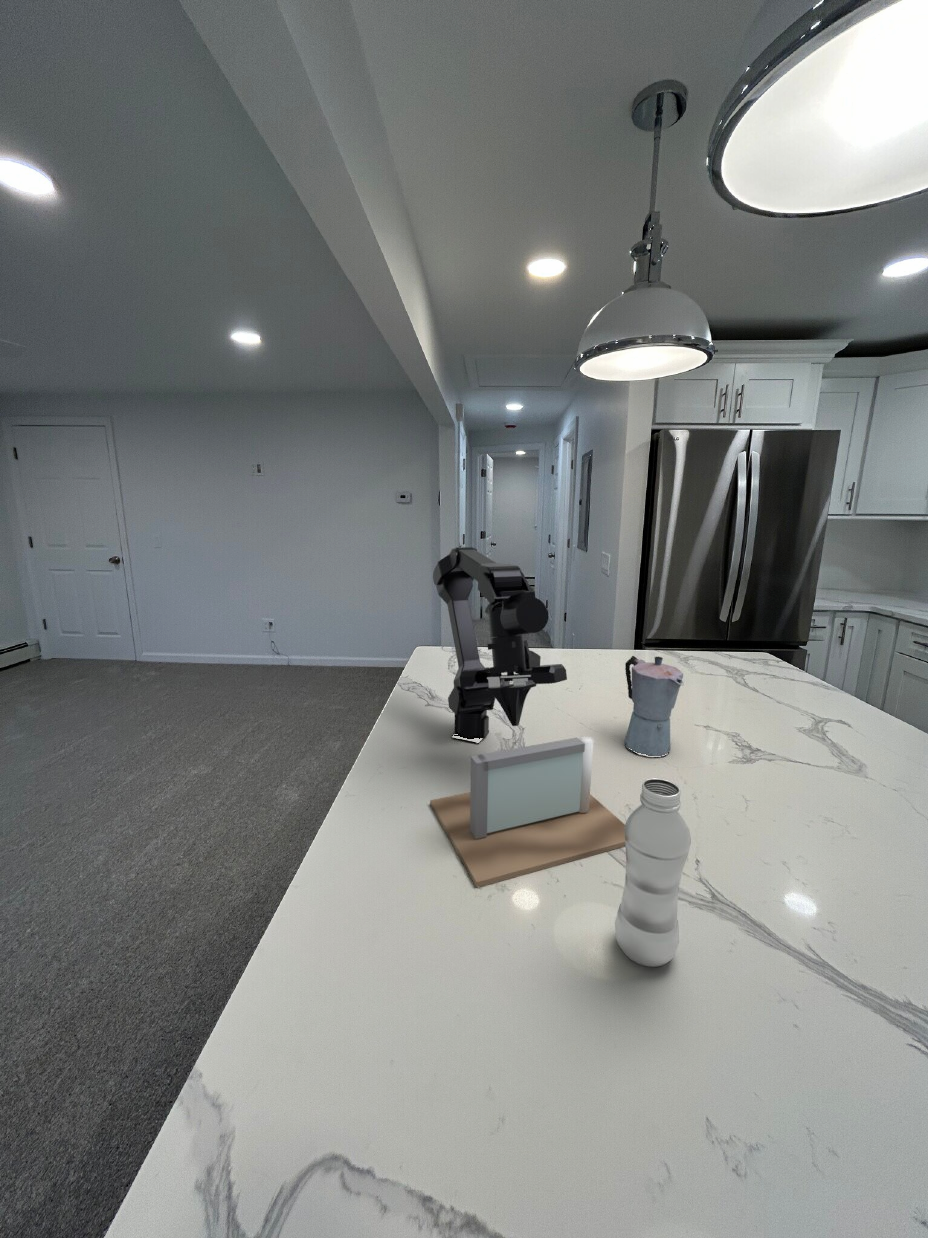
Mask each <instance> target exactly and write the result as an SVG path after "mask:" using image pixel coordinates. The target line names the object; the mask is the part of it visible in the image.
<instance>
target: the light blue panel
mask: <svg viewBox="0 0 928 1238" xmlns="http://www.w3.org/2000/svg"><path fill="white" fill-rule="evenodd" d="M594 742H595V741H594V738H593V737H590V736H585V735H584V736H583V735H582V736H580V737H579V738H578V737H573V738H572V737H571V738H567V739H561V740H555V741H551V742H545V743H540V744H539V743H537V744H534V745H527V746H526V745H525V746H522V747H516V748H510V749H504V750H500V751H499V750H498V751H494V752H493V751H492V752H486V753H482V754H478V755H476V754H475V755H472V756H471V755H470V783H469V784H470V786H469V787H470V790H469V792H470V831H471V833H472V834H473V836H474V838H475V839H479V838H483V837H487V833H490V832H494V831H499V830H503V829H507V828H511V827H515V826H519V825H524V824H528V823H532V822H536V821H540V820H545V819H549V818H553V817H557V816H561V815H565V814H570V813H574V812H580V813H586V812H588V811H589V800H590V794H591V785H592V768H593V755H594V754H593V753H594Z"/></svg>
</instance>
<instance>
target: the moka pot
mask: <svg viewBox="0 0 928 1238" xmlns="http://www.w3.org/2000/svg"><path fill="white" fill-rule="evenodd" d="M662 662H663V657H662V656H654V662H646V661H645V660H643V659H638V657H636V656H634V655H632V656H631V657H630V658H629V659H628V660H627V661H625V666H624V667H625V668H624V669H625V670H624V671H625V676H626V677H625V678H626V682H627V683H626V684H627V691H628V692H627V693H628V698H629V699H630V700H631V701H632V703H633V709H632V712H631V716H630V720H629V723H628V728H627V731H626V735H625V738H624V744H625V743H626V745H625V747H626V746H627V747H628V748H630V749H632V751H635V752H637V753H641V754H646V755H648V756H662V755H665V754H667V753H668V752H669V751H670V752H671V715H672V710H673V709H674V708H675V704H676V702H677V699H678V698H677V697H678V695H679V691H680V688H681V686H684V683H685V681H684V680H683V678H684V673H683V672H682V671H681V670H680V669H678V668H677V667H676V666H672V665H669V664H664V663H662ZM632 665H633V666H632ZM631 666H632V667H631ZM627 747H626V748H627ZM632 751H631V752H632Z"/></svg>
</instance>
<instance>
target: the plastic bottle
mask: <svg viewBox="0 0 928 1238" xmlns="http://www.w3.org/2000/svg"><path fill="white" fill-rule="evenodd" d="M681 793H682V792H681V788H680V786H678V785H677V784H676V783H674V782H673V781H670V780H667V779H663V778H658V777H655V778H654V777H653V778H648V779H645V780H643V782H642V785H641V793H640V798H639V800H640V805H639V806H637V807H636V808H635V809H634V810H633V811H631V813H630V814H629V815H628V817H627V820H626V821H625V823H624V824H625V877H624V878H625V879H624V880H625V881H624V886H623V887H624V888H623V890H622V891H623V892H622V896H621V901H620V903H619V905H618V909H617V912H616V916H615V920H614V931H615V939H616V941H617V945H618V946H619V948H620V949H621V950H622V952H623V953H624V954H625V955H626V956H627V957H628V958H629V959H630V960H631V961H633V962H635V963H637V964H639V965H642V966H644V967H650V968H653V967H654V968H656V967H661V966H664V965H665V964H667V963H668V962H670V961H672V959H673V958H674V957H675V955H676V952H677V949H678V946H679V943H680V927H679V926H680V925H679V920H678V903H679V902H678V900H679V899H678V898H679V893H680V885H681V881H682V875H683V871H684V868H685V865H686V862H687V859H688V856H689V852H690V849H691V844H692V836H691V832H690V828H689V826H688V824H687V823H686V821H685V819H684V818H683V816H682V815H681V814H680V812H679V811H680V809H681Z"/></svg>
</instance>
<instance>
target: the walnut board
mask: <svg viewBox="0 0 928 1238" xmlns="http://www.w3.org/2000/svg"><path fill="white" fill-rule="evenodd" d="M429 803H430V804H429V805H430V807H431V809H432V810H433V812H434V814H435V816H436V818H437V820H438V821H439V823H440V825H441V827H442V828H443V830H444V832H445V834H446V835H447V837H448V839H449V841H450V843H451V844H452V846H453V848H454V851H455V852H456V853H457V855H458V857H459V859H460V861H461V862H462V864H463V866H464V868H465V869H466V872H467V873H468V875H469V877H470V878H471V880H472V882H473V884H474V886H475V887H476V888H480V887H483V886H485V887H486V886H488V885H492V884H495V883H499V882H503V881H506V880H510V879H513V878H516V877H520V876H523V875H526V874H531V873H535V872H539V871H542V870H545V869H549V868H553V867H556V866H560V865H563V864H566V863H570V862H574V861H577V860H582V859H584V858H589V857H591V856H595V855H599V854H602V853H603V854H604V853H606V852H610V851H613V850H618V849H621V848H624V847H625V824H626V823H624V822H623V821H622V820H621V819H619V818H618V817H617V816H616V815H615V814H614V813H613V812H611V811H610V810H609V809H608V808H607V807H606V806H604V804H602V803H601V801H599V800H598V799H596V797H594V796H593V795H592V794H591V793H590V800H589V811H588V812H586V813H580V812H574V813H570V814H565V815H561V816H557V817H553V818H549V819H545V820H540V821H536V822H532V823H528V824H524V825H519V826H515V827H511V828H507V829H503V830H499V831H494V832H490V833H487V837H483V838H479V839H475V838H474V836H473V834H472V833H471V831H470V791H469V792H464V793H460V794H455V795H451V796H446V797H440V798H435V799H431V800H430V801H429Z"/></svg>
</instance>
